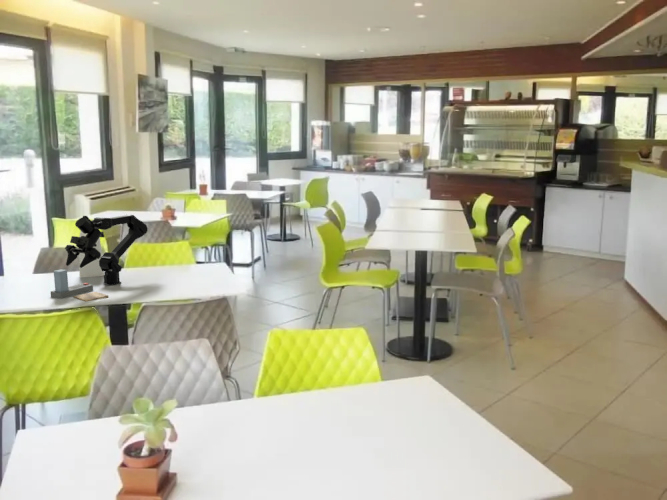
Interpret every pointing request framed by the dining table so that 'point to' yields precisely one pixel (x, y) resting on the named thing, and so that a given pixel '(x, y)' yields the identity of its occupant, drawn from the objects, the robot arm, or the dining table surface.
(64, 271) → the plug
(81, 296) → the cork mat
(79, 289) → the gray slotted board
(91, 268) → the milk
